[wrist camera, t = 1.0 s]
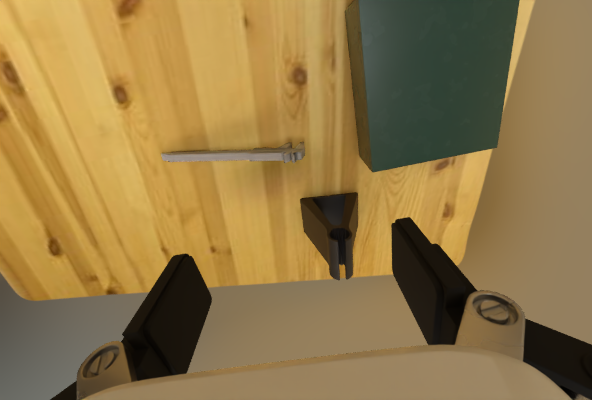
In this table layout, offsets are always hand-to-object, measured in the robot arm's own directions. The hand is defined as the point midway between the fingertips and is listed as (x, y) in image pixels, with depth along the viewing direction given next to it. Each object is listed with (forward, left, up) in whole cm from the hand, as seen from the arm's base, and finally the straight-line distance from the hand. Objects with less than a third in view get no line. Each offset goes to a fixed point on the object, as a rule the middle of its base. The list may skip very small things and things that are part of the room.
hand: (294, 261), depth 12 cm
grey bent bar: (0, -9, -26) cm, 28 cm away
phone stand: (+13, +3, -26) cm, 30 cm away
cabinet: (-4, +16, -26) cm, 31 cm away
